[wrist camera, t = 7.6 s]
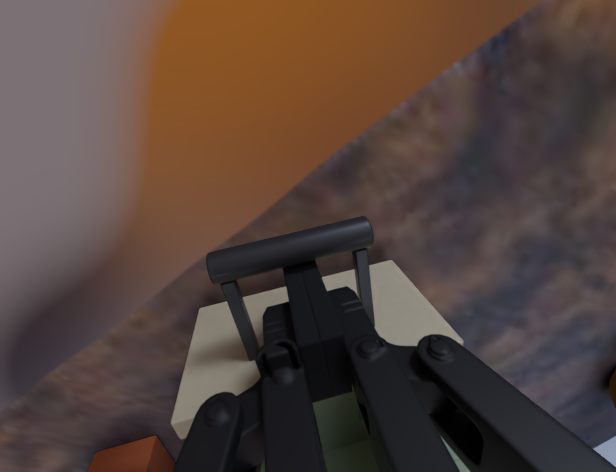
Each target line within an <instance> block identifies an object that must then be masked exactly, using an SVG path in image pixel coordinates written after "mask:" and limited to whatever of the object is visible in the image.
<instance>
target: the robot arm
mask: <svg viewBox="0 0 616 472" xmlns="http://www.w3.org/2000/svg"><path fill="white" fill-rule="evenodd" d="M283 272H284V277H285V282H286V288H287V293H288V299H289V302H285V303H281V304H277V305H273V306H269V307H267V308H266V310H265V312H264V314H263V316H262V318H263V339H264V345H263V346H262V347H261V348H260V349H259V351H258V352H257V354H256V358H255V362H256V365H257V368H258V370H259V373H260V376H261V377H260V379H259V380H258V381H257V382H256V383H255V384H254V385H253V386H252V387H250V388H249V389H247V390H246V391H244V392H242V393H240V394H239V395H237V396H236V395H234V394H233V393H231V392H221V393H217V394H215V395H213V396H211V397H210V398H208V399H207V400H206V401H205V402H204V403H203V404H202V405H201V406H200V408H199V409H198V411H197V413H196V415H195V417H194V420H193V422H192V425H191V427H190V430H189V432H188V434H187V437H186V439H185V442H184V444H183V447H182V449H181V452H180V454H179V457H178V459H177V462H176V464H175V467H174V469H173V471H172V472H260V470H261V465H262V461H263V460H265V472H327V469H326V464H325V459H324V454H323V450H322V445H321V440H320V435H319V430H318V425H317V420H316V416H315V412H314V408H313V403H314V402H318V401H321V400H325V399H328V398H332V397H335V396H339V395H342V394H346V393H350V392H353V389H354V392H355V395H356V399H357V406H358V412H359V419H360V421H363V424H364V427H365V430H366V433H367V436H368V439H369V442H370V444H371V447H372V450H373V453H374V456H375V459H376V462H377V465H378V468H379V471H380V472H460V470H459V469H458V467H457V465H456V463H455V461H454V460H453V458H452V456H451V454H450V452H449V451H448V449H447V447H446V445H445V443H444V442H443V440H444V441H445V442H446V443H447V444H448V446H449V447H450V448H451V449H452V450H453V452H454V453H455V454H456V455H457V456H458V458H459V459H460V460H461V461H462V462H463V463H464V465H465V466H466V467H467V468H468V469H469V471H470V472H616V467H615V466H613V465H612V464H611V463H610V462H608V461H607V460H606V459H605V458H603V457H602V456H601V455H600V454H598V453H597V452H596V451H595V450H593V449H592V448H591V447H590V446H588V445H587V444H586V443H585V442H583V441H582V440H581V439H579V438H578V437H577V436H576V435H574V434H573V433H572V432H571V431H569V430H568V429H567V428H566V427H564V426H563V425H562V424H560V423H559V422H558V421H557V420H555V419H554V418H553V417H552V416H550V415H549V414H548V413H547V412H545V411H544V410H543V409H542V408H540V407H539V406H538V405H536V404H535V403H534V402H533V401H531V400H530V399H529V398H528V397H526V396H525V395H524V394H523V393H521V392H520V391H519V390H517V389H516V388H515V387H514V386H512V385H511V384H510V383H509V382H507V381H506V380H505V379H504V378H502V377H501V376H500V375H498V374H497V373H496V372H495V371H493V370H492V369H491V368H490V367H488V366H487V365H486V364H485V363H483V362H482V361H481V360H480V359H478V358H477V357H476V356H474V355H473V354H472V353H471V352H469V351H468V350H467V349H466V348H464V347H463V346H462V345H461V344H459V343H458V342H457V341H455V340H453V339H452V338H450V337H448V336H444V335H441V334H430V335H427V336H424V337H423V338H422V339H420V340H419V342H418V345H417V346H400V345H394V344H391V343H389V342H387V341H386V340H385V339H383V338H382V337H380V336H379V334H378V333H377V331H376V329H375V328H374V326H373V324H372V322H371V320H370V318H369V316H368V315H367V313H366V311H365V309H364V308H363V305H362V303H361V302H360V300H359V298H358V296H357V294H356V292H355V291H353V290H352V289H350V288H349V287H347V286H345V287H341V288H337V289H333V290H329V291H327V290H326V287H325V285H324V282H323V280H322V277H321V275H320V272H319V270H318V267H317V264H316V262H315V261H311V262H307V263H303V264H299V265H295V266H291V267H287V268H283ZM352 387H353V388H352ZM441 437H442V438H443V440H442V438H441Z"/></svg>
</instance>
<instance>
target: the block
mask: <svg viewBox="0 0 616 472" xmlns="http://www.w3.org/2000/svg"><path fill="white" fill-rule="evenodd" d="M175 464H176V463H175V462H174V460H173V459H172V458H171V456H170V455H169V453H168V452H167V450H166V449H165V447H164V446H163V444H162V443H161V442H160V440H159V439H158V437H157V436H156V435H155V436H151V437H148V438H144V439H141V440H137V441H134V442H130V443H127V444H123V445H120V446H116V447H112V448H109V449H105V450H102V451H98V452H96V453H95V455H94V457H93V460H92V462H91V464H90V466H89V469H88V471H87V472H172V471H173V469H174V467H175Z"/></svg>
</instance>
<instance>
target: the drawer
mask: <svg viewBox="0 0 616 472" xmlns="http://www.w3.org/2000/svg"><path fill="white" fill-rule="evenodd" d="M373 241H374V237H373V231H372V227H371V224H370V222H369V220H368V219H367V217H365V216H361V217H357V218H352V219H348V220H344V221H340V222H336V223H332V224H327V225H323V226H319V227H315V228H311V229H306V230H302V231H298V232H294V233H290V234H285V235H281V236H277V237H273V238H269V239H264V240H260V241H256V242H252V243H248V244H243V245H239V246H235V247H231V248H227V249H222V250H218V251H214V252H210V253H208V254H207V257H206V265H207V270H208V274H209V277H210V279H211V281H212V282H213V284H215V285H218V284H221V287H222V290H223V293H224V295H225V298H226V302H222V303H218V304H214V305H210V306H206V307H202V308H200V309H199V312H198V316H197V320H196V324H195V328H194V332H193V336H192V340H191V344H190V348H189V352H188V356H187V360H186V364H185V368H184V372H183V376H182V380H181V384H180V388H179V392H178V396H177V400H176V404H175V408H174V412H173V415H172V419H171V426H172V427H173V429H174V430H175V432H176V433H177V435H178V437H179V438H180V439H184V438H186V437H187V434H188V432H189V430H190V427H191V425H192V422H193V420H194V417H195V415H196V413H197V411H198V409H199V408H200V406H201V405H202V404H203V403H204V402H205V401H206V400H207V399H208V398H210V397H211V396H213V395H215V394H217V393H221V392H231V393H233V394H234V395H236V396H237V395H239V394H240V393H242V392H244V391H246V390H247V389H249V388H250V387H252V386H253V385H254V384H255V383H256V382H257V381H258V380H259V379H260V377H261V376H260V373H259V370H258V368H257V365H256V362H255V358H256V354H257V352H258V351H259V349H260V348H261V347H262V346H263V345H264V339H263V318H262V316H263V314H264V312H265V310H266V308H267V307H269V306H273V305H277V304H281V303H285V302H289V299H288V293H287V288H286V286H285V287H282V288H278V289H274V290H270V291H266V292H262V293H258V294H254V295H250V296H246V297H242V294H241V291H240V288H239V286H238V283H237V280H238V279H242V278H246V277H250V276H254V275H258V274H262V273H266V272H270V271H275V270H279V269H283V268H287V267H291V266H295V265H299V264H303V263H307V262H311V261H315V260H319V259H323V258H327V257H331V256H335V255H339V254H343V253H347V252H351V251H352V256H353V263H354V269H353V270H349V271H345V272H341V273H337V274H333V275H329V276H325V277H322V280H323V282H324V285H325V287H326V290H327V291H329V290H333V289H337V288H341V287H345V286H347V287H349V288H350V289H352V290H353V291H355V292H356V294H357V296H358V298H359V300H360V302H361V303H362V305H363V308H364V309H365V311H366V313H367V315H368V316H369V318H370V320H371V322H372V324H373V326H374V328H375V329H376V331H377V333H378V334H379V336H380V337H382V338H383V339H385V340H386V341H387V342H389V343H391V344H394V345H400V346H417V345H418V342H419V340H420V339H422V338H423V337H424V336H427V335H430V334H441V335H444V336H448V337H450V338H452V339H453V340H455V341H457V342H458V343H459V344H461V345H462V346H463V340H462V339H461V338H460V337H459V335H458V334H457V333H456V332H455V331H454V330H453V329H452V328H451V326H450V325H449V324H448V323H447V322H446V321H445V320H444V319H443V317H442V316H441V315H440V314H439V313H438V312H437V311H436V310H435V308H434V307H433V306H432V305H431V304H430V303H429V302H428V300H427V299H426V298H425V297H424V296H423V295H422V294H421V293H420V291H419V290H418V289H417V288H416V287H415V286H414V285H413V284H412V282H411V281H410V280H409V279H408V278H407V277H406V276H405V275H404V273H403V272H402V271H401V270H400V269H399V268H398V267H397V266H396V264H395V263H394V262H393V261H392V260H388V261H384V262H380V263H376V264H372V265H369V260H368V250H367V247H371V246H372V245H373ZM352 388H353V387H352ZM313 408H314V412H315V416H316V420H317V425H318V430H319V435H320V440H321V445H322V450H323V454H324V459H325V464H326V469H327V472H380V471H379V468H378V465H377V462H376V459H375V456H374V453H373V450H372V447H371V444H370V442H369V439H368V436H367V433H366V430H365V427H364V424H363V421H360V419H359V412H358V406H357V399H356V395H355V392H354V389H353V392H350V393H346V394H342V395H339V396H335V397H332V398H328V399H325V400H321V401H318V402H314V403H313ZM441 438H442V437H441ZM442 440H443V438H442ZM260 472H265V460H263V461H262V465H261V470H260Z"/></svg>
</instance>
